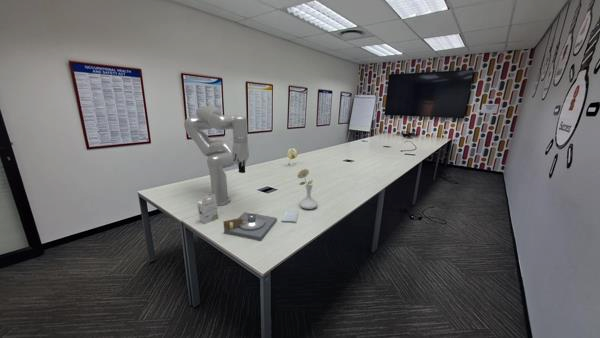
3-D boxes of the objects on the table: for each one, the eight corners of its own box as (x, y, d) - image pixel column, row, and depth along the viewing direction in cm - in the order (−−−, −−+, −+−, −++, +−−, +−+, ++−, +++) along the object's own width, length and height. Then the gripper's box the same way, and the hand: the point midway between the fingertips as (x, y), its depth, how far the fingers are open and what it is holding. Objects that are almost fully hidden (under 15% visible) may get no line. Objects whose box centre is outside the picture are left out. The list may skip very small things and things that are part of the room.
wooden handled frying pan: (227, 236, 109) (226, 228, 108) (221, 222, 121) (221, 215, 120) (269, 226, 119) (269, 218, 118) (260, 214, 131) (260, 207, 129)
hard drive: (296, 221, 127) (298, 210, 139) (281, 220, 127) (284, 210, 139) (296, 224, 127) (298, 213, 139) (281, 223, 128) (284, 212, 140)
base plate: (224, 233, 116) (223, 222, 114) (244, 215, 134) (244, 205, 132) (260, 240, 110) (260, 229, 109) (276, 221, 129) (276, 211, 127)
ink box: (213, 215, 133) (211, 191, 129) (218, 218, 130) (216, 193, 126) (199, 221, 127) (196, 196, 123) (203, 224, 124) (201, 198, 120)
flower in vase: (314, 202, 153) (316, 165, 146) (319, 210, 143) (321, 171, 135) (295, 203, 151) (296, 166, 144) (298, 211, 140) (299, 171, 133)
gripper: (241, 137, 133) (243, 168, 138) (226, 141, 119) (228, 175, 124) (253, 138, 131) (254, 169, 136) (239, 142, 117) (240, 177, 122)
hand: (242, 172), depth 130 cm, fingers closed
